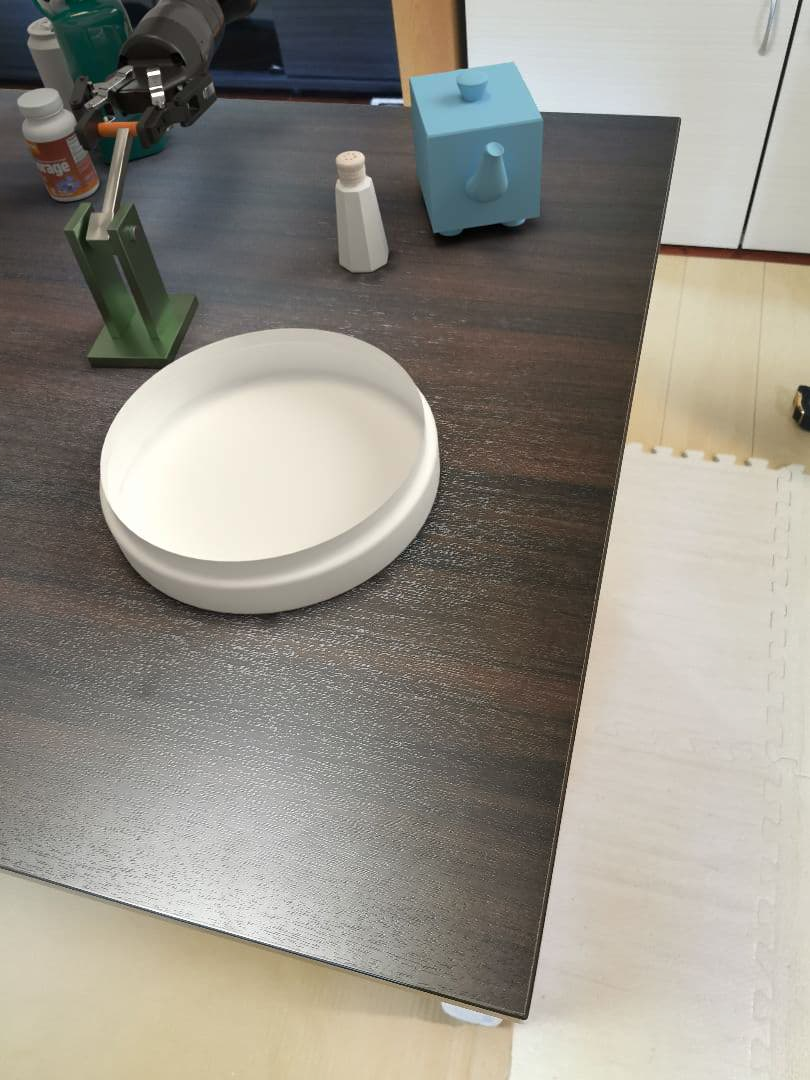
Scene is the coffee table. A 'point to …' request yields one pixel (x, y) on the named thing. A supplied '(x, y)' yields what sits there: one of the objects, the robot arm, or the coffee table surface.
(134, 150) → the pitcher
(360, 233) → the salt shaker
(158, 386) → the white round dish
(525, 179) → the teapot
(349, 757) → the coffee table surface
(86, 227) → the bracket
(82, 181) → the pill bottle
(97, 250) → the lever
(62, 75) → the can
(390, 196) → the coffee table surface
